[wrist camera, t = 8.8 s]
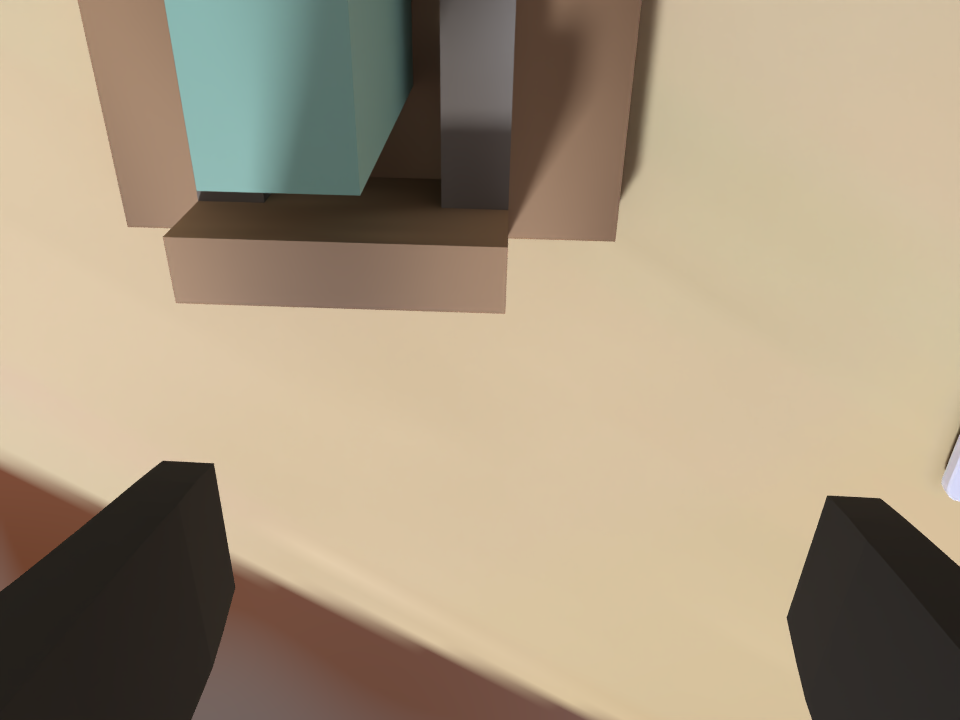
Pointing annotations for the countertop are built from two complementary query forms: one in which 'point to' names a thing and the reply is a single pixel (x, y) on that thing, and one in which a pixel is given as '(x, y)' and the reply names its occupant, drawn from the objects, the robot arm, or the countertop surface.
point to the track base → (392, 160)
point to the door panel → (290, 90)
